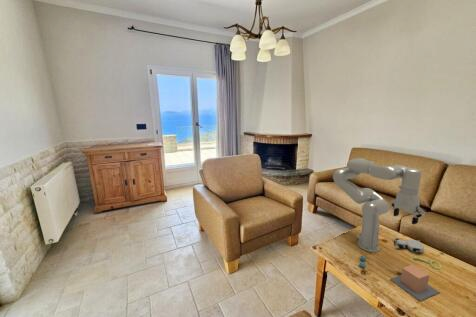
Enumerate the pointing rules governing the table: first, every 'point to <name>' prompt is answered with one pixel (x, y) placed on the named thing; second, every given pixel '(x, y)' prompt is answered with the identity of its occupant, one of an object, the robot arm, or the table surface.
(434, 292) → the charcoal mat
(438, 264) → the key
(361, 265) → the teal marble
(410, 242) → the robot toy
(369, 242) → the robot arm
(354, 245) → the table surface
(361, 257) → the teal marble
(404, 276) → the brown cube
